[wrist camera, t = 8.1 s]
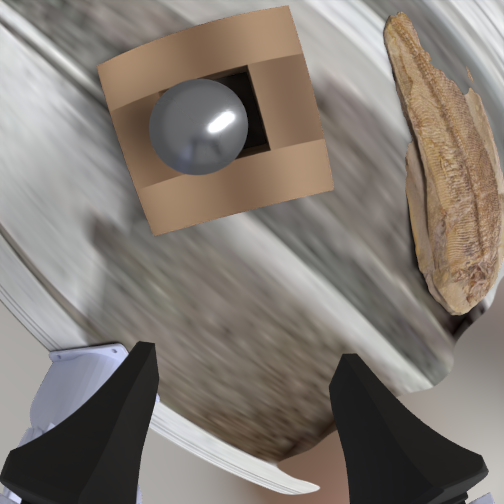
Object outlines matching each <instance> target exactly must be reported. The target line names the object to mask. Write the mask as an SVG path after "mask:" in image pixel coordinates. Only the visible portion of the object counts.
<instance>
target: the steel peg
mask: <svg viewBox="0 0 504 504" xmlns="http://www.w3.org/2000/svg"><path fill="white" fill-rule="evenodd" d="M247 133H248V119H247V114H246V111H245V108H244V106H243V104H242V102H241V100H240V99H239V98H238V96H237V95H236V94H235V93H234V92H233V91H232V90H231V89H229V88H228V87H226V86H225V85H223V84H221V83H219V82H216V81H213V80H208V79H191V80H187V81H183V82H181V83H178V84H176V85H174V86H173V87H171V88H170V89H168V90H167V91H166V92H165V93H164V94H163V95H162V96H161V97H160V98H159V100H158V101H157V102H156V104H155V106H154V108H153V110H152V113H151V116H150V121H149V136H150V140H151V144H152V146H153V149H154V150H155V152H156V154H157V155H158V157H159V158H160V159H161V160H162V161H163V162H164V163H165V164H166V165H168V166H169V167H170V168H172V169H174V170H176V171H178V172H180V173H184V174H188V175H206V174H211V173H214V172H217V171H219V170H221V169H223V168H224V167H226V166H227V165H229V164H230V163H231V162H232V161H233V160H234V159H235V158H236V157H237V156H238V154H239V153H240V151H241V150H242V148H243V146H244V144H245V141H246V138H247Z"/></svg>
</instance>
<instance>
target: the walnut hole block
mask: <svg viewBox="0 0 504 504" xmlns="http://www.w3.org/2000/svg"><path fill="white" fill-rule="evenodd" d="M97 70H98V74H99V77H100V81H101V85H102V88H103V92H104V95H105V99H106V102H107V105H108V109H109V112H110V115H111V118H112V122H113V125H114V128H115V131H116V134H117V137H118V140H119V143H120V146H121V149H122V152H123V155H124V158H125V161H126V164H127V167H128V170H129V172H130V175H131V178H132V181H133V184H134V186H135V189H136V192H137V194H138V197H139V200H140V202H141V205H142V208H143V210H144V213H145V215H146V218H147V220H148V223H149V225H150V228H151V230H152V233H153V235H154V236H157V235H161V234H164V233H168V232H171V231H175V230H178V229H182V228H185V227H189V226H192V225H196V224H200V223H203V222H207V221H211V220H214V219H218V218H222V217H226V216H229V215H233V214H237V213H241V212H245V211H248V210H252V209H256V208H260V207H264V206H268V205H272V204H276V203H280V202H284V201H288V200H292V199H296V198H301V197H305V196H309V195H313V194H317V193H322V192H326V191H330V190H334V185H333V179H332V174H331V169H330V164H329V158H328V154H327V149H326V144H325V139H324V134H323V130H322V125H321V121H320V117H319V112H318V108H317V104H316V100H315V96H314V92H313V88H312V84H311V80H310V76H309V73H308V69H307V65H306V62H305V58H304V55H303V51H302V48H301V44H300V41H299V38H298V34H297V31H296V28H295V25H294V21H293V18H292V15H291V12H290V9H289V6H282V7H276V8H270V9H264V10H259V11H254V12H249V13H244V14H240V15H236V16H231V17H227V18H223V19H219V20H216V21H212V22H208V23H205V24H201V25H198V26H195V27H192V28H188V29H185V30H182V31H179V32H176V33H173V34H171V35H168V36H165V37H162V38H160V39H157V40H154V41H152V42H149V43H147V44H144V45H142V46H139V47H137V48H134V49H132V50H130V51H127V52H125V53H123V54H121V55H119V56H116V57H114V58H112V59H110V60H108V61H106V62H104V63H102V64H100V65H98V66H97ZM246 71H247V74H248V78H249V81H250V85H251V88H252V92H253V95H254V99H255V103H256V106H257V110H258V114H259V117H260V121H261V125H262V128H263V132H264V136H265V140H266V143H267V144H262V145H258V146H255V147H251V148H247V149H243V150H241V151H240V153H239V154H238V156H237V157H236V158H235V159H234V160H233V161H232V162H231V163H230V164H229V165H227V166H226V167H224V168H223V169H221V170H219V171H217V172H214V173H211V174H206V175H188V174H184V173H180V172H178V171H176V170H174V169H172V168H170V167H169V166H168V165H166V164H165V163H164V162H163V161H162V160H161V159H160V158H159V157H158V155H157V154H156V152H155V150H154V149H153V146H152V144H151V140H150V136H149V121H150V116H151V113H152V110H153V108H154V106H155V104H156V102H157V101H158V100H159V98H160V97H161V96H162V95H163V94H164V93H165V92H166V91H167V90H168V89H170V88H171V87H173V86H174V85H176V84H178V83H181V82H183V81H187V80H191V79H208V80H216V79H220V78H223V77H227V76H231V75H234V74H238V73H242V72H246Z"/></svg>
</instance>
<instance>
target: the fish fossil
mask: <svg viewBox="0 0 504 504" xmlns="http://www.w3.org/2000/svg"><path fill="white" fill-rule="evenodd" d="M384 38H385V43H384V44H385V46H386V49H387V53H388V56H389V60H390V63H391V66H392V72H393V77H394V81H395V84H396V91H397V93H398V96H399V99H400V102H401V106H402V111H403V113H404V116H405V117H406V120H407V124H408V127H409V129H410V132H411V135H412V138H413V139H412V142H411V143H409V144H408V151H407V153H406V171H407V177H406V195H407V198H408V203H409V209H410V219H411V225H412V233H413V236H414V241H415V245H416V248H415V251H416V255H417V259H418V264H419V270H420V271H421V272H422V273H423V275H424V277H425V279H426V280H425V281H426V283H427V284H428V289H429V291H430V293H431V295H432V296H433V297H434V298H435V300H436V301H437V302H439V303H440V304H441V305H442V306H443V307H444V308H445V309H446V310H447V312H449V313H450V314H451V315H461V314H464V313H466V312H468V311H469V310H470V309H471V308H472V307H474V306H475V305H476V304H477V303H478V302H479V301H481V300H482V299H483V298H484V297H485V296H486V294H487V293H488V292H489V291H490V290H491V288H492V287H493V285H494V284H495V282H496V279H497V275H498V271H499V270H500V267H501V265H502V261H503V257H504V180H503V173H502V170H501V168H500V162H499V156H498V153H497V148H496V145H495V142H494V139H493V133H492V130H491V128H490V125H489V121H488V118H487V115H486V113H485V110H484V107H483V104H482V101H481V97H480V96H479V95H478V94H476V93H475V92H473V90H472V89H471V88H470V89H469V93H468V94H466V95H463V93H461V92H460V90H459V88H458V87H457V85H456V84H455V82H453V81H452V80H448V79H447V78H446V77H445V74H444V73H443V72H442V71H441V70H439V69H435V68H434V67H433V65H431V64H430V63H429V61H431V58H430V56H429V53H428V52H426V51H424V50H423V48H422V47H421V45H420V43H419V38H418V36H417V33H416V31H415V29H414V28H413V26H412V22H411V21H410V20H409V18H408V17H407V16H406V15H405V14H404V13H402V12H401V13H399V12H398V13H397V15H394V16H392V15H390V16H389V18H388V20H387V22H386V26H385V29H384ZM466 68H467V67H466ZM467 72H468V77H469V78H470V79H471V81H472V82H473V79H472V76H471V74H470V71H469V69H468V68H467Z"/></svg>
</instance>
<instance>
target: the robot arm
mask: <svg viewBox="0 0 504 504" xmlns="http://www.w3.org/2000/svg"><path fill="white" fill-rule="evenodd" d="M114 349H115V350H114ZM49 357H50V359H51V360H52V362H53V363H52V365H51V367H50V369H49V371H48V372H47V374H46V376H45V378H44V380H43V382H42V384H41V386H40V388H39V390H38V392H37V394H36V396H35V398H34V400H33V402H32V405H31V409H30V420H31V425H32V428H28V429H27V430H26V432H25V434H24V435H23V437H22V439H21V441H20V443H19V445H18V448H16V449H13V450H11V451H10V453H9V455H8V457H7V459H6V461H5V464H4V466H3V469H2V472H1V475H0V482H1V483H2V484H3V485H4V489H3V495H2V494H0V504H142V495H141V491H140V488H139V485H138V478H139V469H140V461H141V455H142V450H143V446H144V442H145V438H146V434H147V431H148V427H149V423H150V420H151V416H152V413H153V409H154V405H155V402H159V400H160V397H159V395H158V394H157V390H158V383H159V373H158V366H157V358H156V350H155V343H149V342H142V341H139V342H137V343H136V345H135V346H134V347H133V349H132V350H131V351H130V353H128V352H127V350H126V349H125V347H124V346H123V345H122V344H119V343H117V344H110V345H103V346H95V347H88V348H80V349H72V350H63V351H54V352H50V354H49ZM329 392H330V400H331V407H332V411H333V415H334V419H335V422H336V426H337V430H338V433H339V437H340V441H341V444H342V448H343V451H344V456H345V461H346V468H347V476H348V485H349V498H350V504H466V503H465V500H466V499H467V498H468V495H467V492H466V491H468V490H469V489H471V488H472V487H473V486H475V485H476V484H477V483H479V482H480V481H481V480H482V479H484V478H485V477H486V476H487V474H488V472H489V471H488V469H487V466H486V464H485V462H484V460H483V457H482V456H481V455H479V454H477V453H474V452H472V451H470V450H467V449H465V448H463V447H461V446H459V445H457V444H455V443H454V442H452V441H450V440H448V439H447V438H445V437H443V436H441V435H440V434H439V433H437V432H436V431H434V430H433V429H431V428H430V427H429V426H427V425H426V424H424V423H423V422H422V421H421V420H420V419H418V418H417V417H416V416H415V415H414V414H412V413H411V412H410V411H409V410H408V409H407V408H406V407H405V406H404V405H403V404H402V403H400V401H399V400H398V399H397V398H396V397H395V396H394V395H393V394H392V393H391V392H390V391H389V390H388V389H387V388H386V387H385V386H384V384H383V383H382V382H381V381H380V380H379V379H378V378H377V376H376V375H375V374H374V373H373V372H372V371H371V370H370V368H369V367H368V366H367V365H366V364H365V363H364V361H363V360H362V359H361V358H360V357H359V356H358V355H357V354H342V357H341V359H340V362H339V364H338V366H337V369H336V371H335V374H334V376H333V378H332V381H331V383H330V385H329ZM469 504H495V503H494V500H493V498H492V495H491V493H487V494H485V495H483V496H482V497H480V498H478V499H476V500H474V501H472V502H470V503H469Z"/></svg>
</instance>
